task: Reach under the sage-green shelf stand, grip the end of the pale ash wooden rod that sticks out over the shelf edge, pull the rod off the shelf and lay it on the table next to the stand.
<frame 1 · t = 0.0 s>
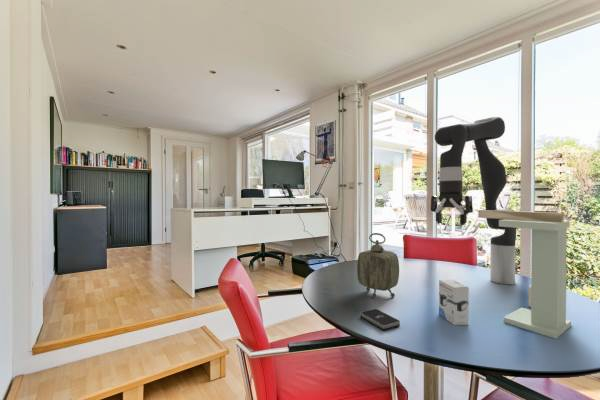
hand: (450, 223, 104), 29 cm above the table, tool pointing down, fingers open, 8 cm apart
tabletop clock: (376, 296, 112), on the table
ink box: (453, 319, 90), on the table
external hard drive: (379, 323, 89), on the table
supplement bottle: (538, 308, 99), on the table
ash rod: (517, 219, 91), point 32 cm above the table, touching shelf stand
shelf stand: (531, 322, 88), on the table
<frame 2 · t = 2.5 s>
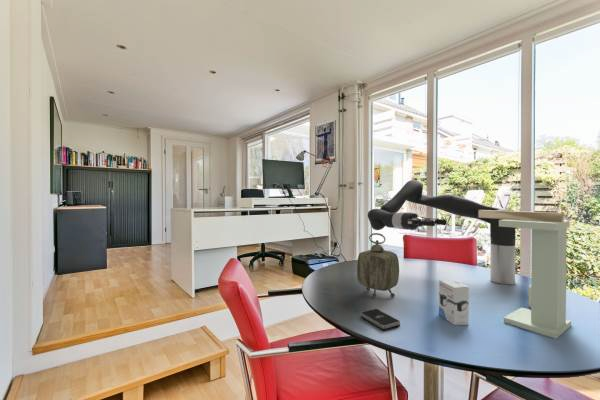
hand: (440, 222, 112), 29 cm above the table, tool horizontal, fingers open, 8 cm apart
nothing on the table moved.
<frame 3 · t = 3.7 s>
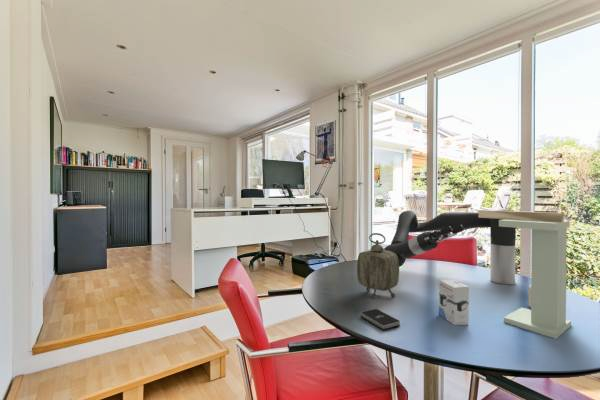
hand: (457, 228, 107), 27 cm above the table, tool pointing upward, fingers open, 8 cm apart
nothing on the table moved.
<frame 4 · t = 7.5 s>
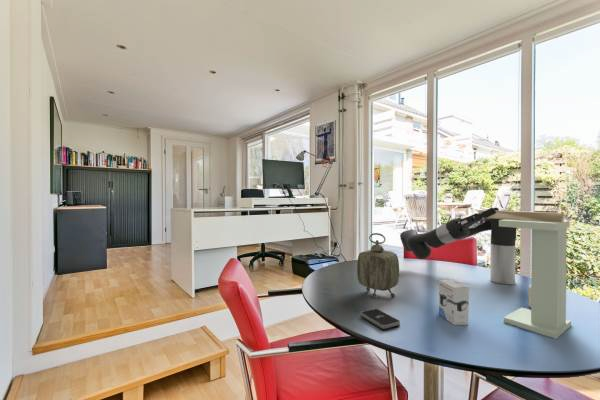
hand: (496, 210, 96), 35 cm above the table, tool pointing upward, fingers closed on ash rod, 2 cm apart
ash rod: (517, 219, 91), point 32 cm above the table, touching gripper, shelf stand
everything else where it was.
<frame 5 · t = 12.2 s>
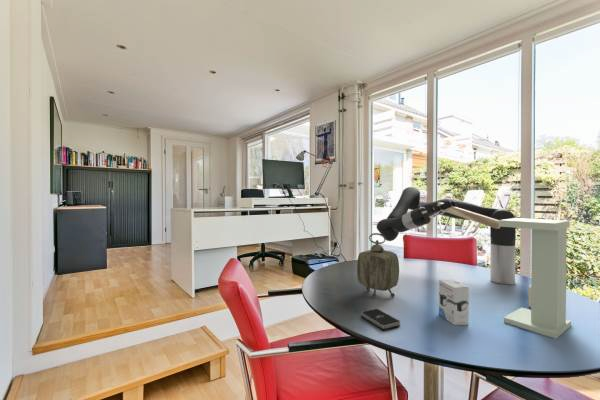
hand: (453, 203, 108), 37 cm above the table, tool pointing upward, fingers closed on ash rod, 2 cm apart
ash rod: (465, 217, 104), point 32 cm above the table, tilted 16°, touching gripper
everything else where it was.
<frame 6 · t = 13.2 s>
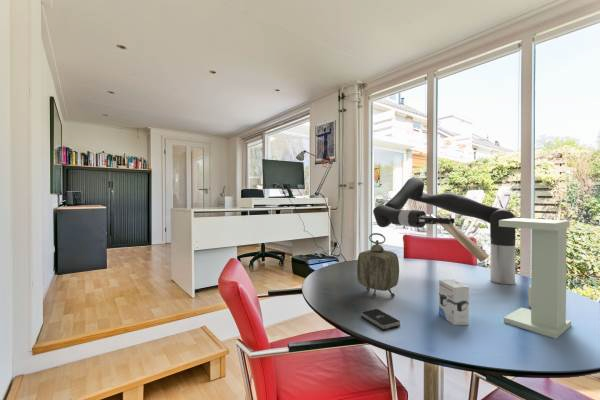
hand: (451, 221, 108), 30 cm above the table, tool horizontal, fingers closed on ash rod, 2 cm apart
ash rod: (457, 238, 107), point 23 cm above the table, tilted 39°, touching gripper
everything else where it was.
when the fingers open (13 cm above the table, at t = 16.8 s): ash rod drops 7 cm, on the table.
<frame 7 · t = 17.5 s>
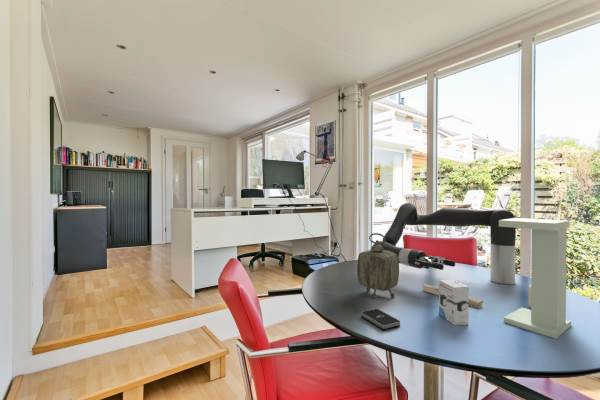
hand: (449, 265, 109), 13 cm above the table, tool horizontal, fingers open, 8 cm apart
ash rod: (450, 298, 109), on the table
everything else where it was.
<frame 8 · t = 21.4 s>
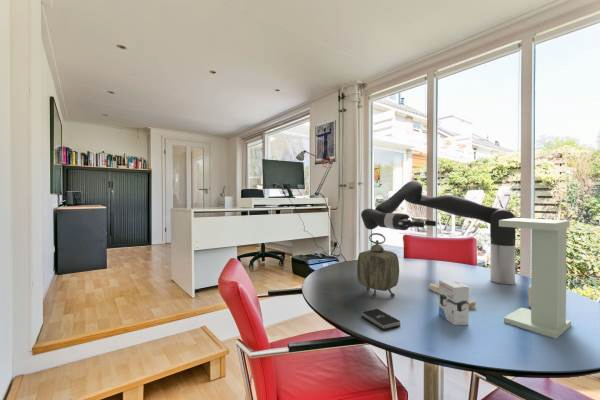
hand: (429, 224, 116), 28 cm above the table, tool horizontal, fingers open, 8 cm apart
at the end: ash rod inside the target area (1.5 cm from its centre), on the table; the gripper is holding nothing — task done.
